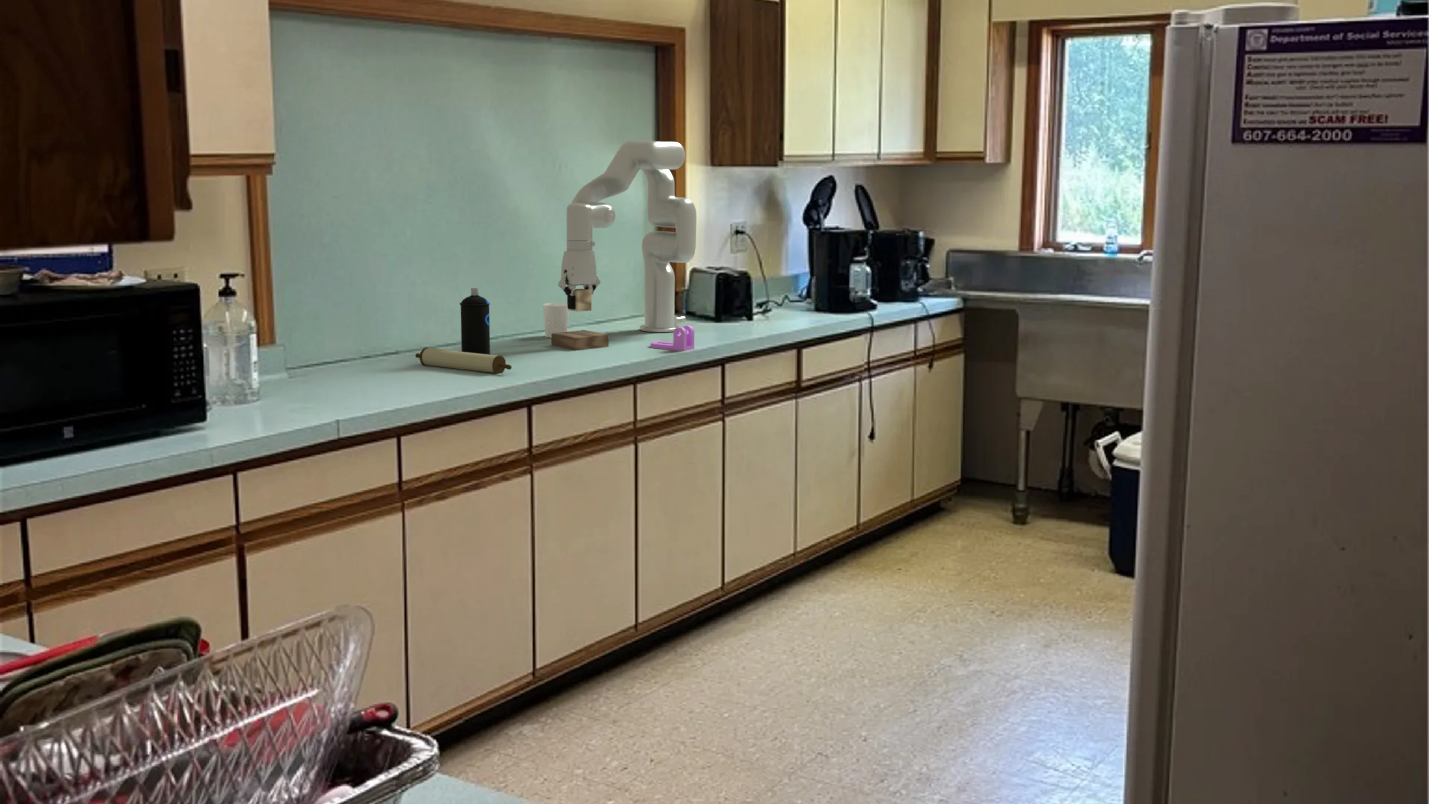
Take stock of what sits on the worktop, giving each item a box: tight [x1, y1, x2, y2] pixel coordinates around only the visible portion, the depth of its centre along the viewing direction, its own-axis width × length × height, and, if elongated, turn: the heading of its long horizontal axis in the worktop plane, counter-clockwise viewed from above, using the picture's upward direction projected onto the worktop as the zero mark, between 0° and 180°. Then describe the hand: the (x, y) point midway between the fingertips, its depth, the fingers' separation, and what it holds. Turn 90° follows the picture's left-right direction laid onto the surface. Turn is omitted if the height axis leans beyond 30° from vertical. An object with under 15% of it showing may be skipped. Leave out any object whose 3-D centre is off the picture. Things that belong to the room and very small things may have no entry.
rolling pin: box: [414, 347, 512, 375], centre depth 362 cm, size 32×6×5 cm, turn 61°
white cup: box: [542, 302, 570, 339], centre depth 423 cm, size 8×8×10 cm
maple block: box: [568, 288, 593, 312], centre depth 403 cm, size 5×5×6 cm
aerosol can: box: [459, 287, 491, 355], centre depth 375 cm, size 8×8×20 cm
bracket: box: [650, 325, 695, 352], centre depth 404 cm, size 13×6×7 cm, turn 59°
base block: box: [550, 329, 610, 351], centre depth 406 cm, size 12×12×4 cm
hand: (579, 307), depth 404 cm, fingers closed on maple block, 5 cm apart
